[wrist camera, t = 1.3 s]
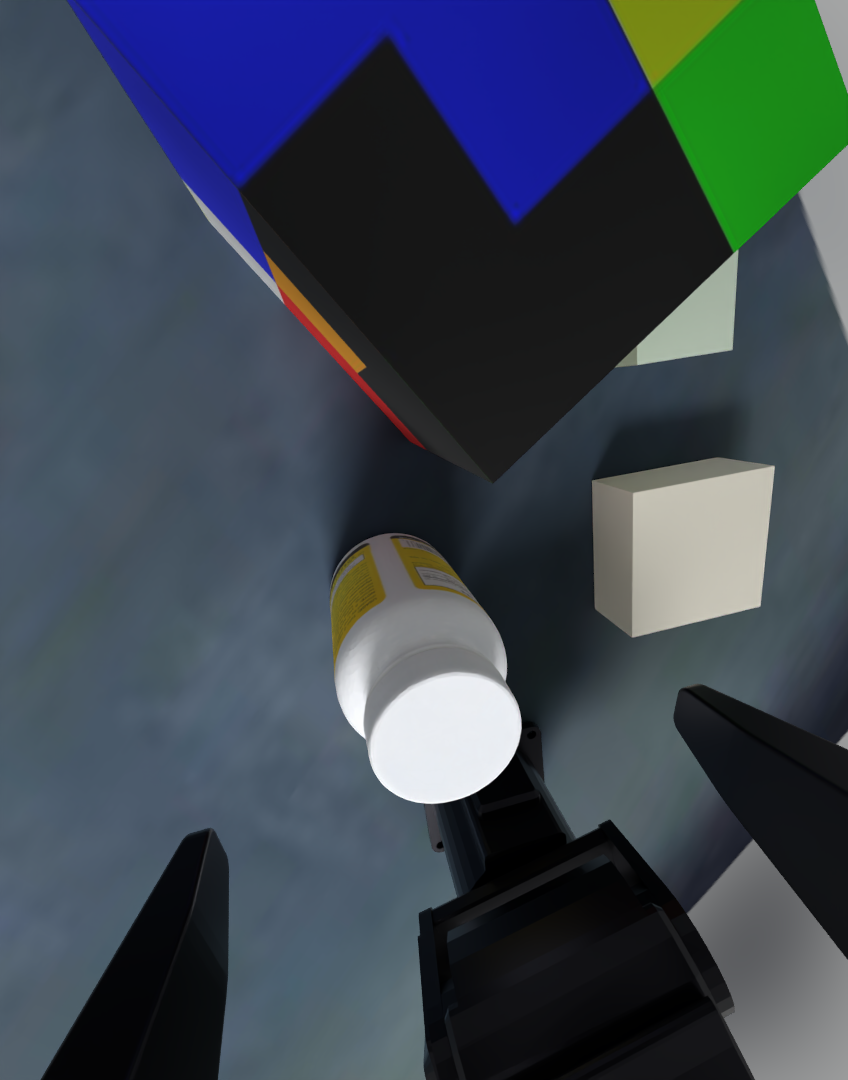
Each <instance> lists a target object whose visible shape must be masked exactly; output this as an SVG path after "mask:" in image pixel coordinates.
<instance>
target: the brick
mask: <svg viewBox="0 0 848 1080" xmlns="http://www.w3.org/2000/svg"><path fill="white" fill-rule="evenodd" d="M737 264H738V250H737V251H736V252H735V253H734V254H733V255H732V256H731V257H730V258H729V259H728V260H726V261H725V262H724V263H723V264H722V265H721V266H720V267H719V268H718V269H717V270H716V271H715V272H714V273H713V274H712V275H711V276H710V277H709V278H708V279H707V280H706V281H705V282H703V283H702V284H701V285H700V286H699V287H698V288H697V289H696V290H695V291H694V292H693V293H692V294H691V295H690V296H689V297H688V298H687V299H686V300H685V301H684V302H683V303H682V304H680V305H679V306H678V307H677V308H676V309H675V310H674V311H673V312H672V313H671V314H670V315H669V316H668V317H667V318H666V319H665V320H664V321H663V322H662V323H661V324H660V325H658V326H657V327H656V328H655V329H654V330H653V331H652V332H651V333H650V334H649V335H648V336H647V337H646V338H645V339H644V340H643V341H642V342H641V343H640V344H639V345H638V346H637V347H635V348H634V349H633V350H632V351H631V352H630V353H629V354H628V355H627V356H626V357H625V358H624V359H623V360H622V361H621V362H620V363H619V364H618V365H617V366H616V367H624V366H634V365H641V364H647V363H654V362H660V361H666V360H673V359H679V358H685V357H691V356H698V355H704V354H710V353H717V352H723V351H729V350H732V349H733V332H734V315H735V298H736V281H737Z"/></svg>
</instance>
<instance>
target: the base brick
mask: <svg viewBox="0 0 848 1080" xmlns="http://www.w3.org/2000/svg"><path fill="white" fill-rule="evenodd" d="M774 469H775V466H772V465H766V464H759V463H753V462H746V461H739V460H733V459H726V458H720V457H716V458H711V459H705V460H700V461H694V462H689V463H684V464H678V465H673V466H667V467H662V468H657V469H651V470H646V471H640V472H635V473H629V474H624V475H619V476H613V477H608V478H602V479H597V480H592V502H593V549H594V597H595V609H596V610H597V611H598V612H600V613H601V614H602V615H603V616H605V617H606V618H607V619H609V620H610V621H611V622H612V623H614V624H615V625H616V626H618V627H619V628H620V629H621V630H623V631H624V632H625V633H627V634H628V635H629V636H630V637H632V638H633V637H637V636H641V635H645V634H650V633H654V632H658V631H662V630H666V629H670V628H674V627H678V626H682V625H686V624H691V623H695V622H699V621H703V620H707V619H711V618H715V617H719V616H723V615H727V614H732V613H736V612H740V611H744V610H748V609H752V608H756V607H760V605H761V595H762V586H763V576H764V566H765V556H766V547H767V537H768V527H769V518H770V508H771V498H772V488H773V479H774Z"/></svg>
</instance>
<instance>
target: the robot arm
mask: <svg viewBox="0 0 848 1080" xmlns="http://www.w3.org/2000/svg"><path fill="white" fill-rule="evenodd" d="M674 723H675V726H676V728H677V730H678V731H679V733H680V734H681V736H682V738H683V739H684V741H685V742H686V744H687V745H688V747H689V748H690V750H691V751H692V753H693V754H694V756H695V758H696V759H697V761H698V762H699V764H700V765H701V767H702V768H703V770H704V771H705V773H706V774H707V776H708V777H709V779H710V781H711V782H712V784H713V785H714V787H715V788H716V790H717V791H718V793H719V794H720V796H721V797H722V798H723V800H724V801H725V803H726V804H727V805H728V807H729V808H730V809H731V811H732V812H733V813H734V815H735V816H736V817H737V818H738V820H739V821H740V822H741V824H742V825H743V826H744V827H745V829H746V830H747V831H748V833H749V834H750V835H751V836H752V838H753V839H754V840H755V842H756V843H757V844H758V845H759V847H760V848H761V849H762V850H763V852H764V853H765V854H766V856H767V857H768V858H769V859H770V861H771V862H772V863H773V864H774V866H775V867H776V868H777V870H778V871H779V872H780V874H781V875H782V876H783V877H784V879H785V880H786V881H787V882H788V884H789V885H790V886H791V888H792V889H793V890H794V891H795V893H796V894H797V895H798V897H799V898H800V899H801V900H802V902H803V903H804V904H805V906H806V907H807V908H808V909H809V911H810V912H811V913H812V914H813V916H814V917H815V918H816V920H817V921H818V922H819V923H820V925H821V926H822V927H823V929H824V930H825V931H826V932H827V934H828V935H829V936H830V938H831V939H832V940H833V941H834V943H835V944H836V945H837V947H838V948H839V949H840V950H841V951H842V953H843V954H844V955H845V957H846V958H847V959H848V750H847V749H845V748H843V747H841V746H839V745H836V744H834V743H832V742H830V741H827V740H825V739H823V738H821V737H819V736H816V735H814V734H812V733H810V732H807V731H805V730H803V729H801V728H798V727H796V726H794V725H792V724H790V723H787V722H785V721H783V720H781V719H778V718H776V717H774V716H772V715H770V714H767V713H765V712H763V711H761V710H758V709H756V708H754V707H752V706H750V705H747V704H745V703H743V702H741V701H738V700H736V699H734V698H732V697H730V696H727V695H725V694H723V693H721V692H718V691H716V690H714V689H712V688H710V687H707V686H705V685H702V684H694V685H691V686H687V687H684V688H682V689H680V690H679V693H678V697H677V701H676V706H675V711H674ZM521 725H522V729H521V734H520V740H519V743H518V746H517V749H516V751H515V754H514V756H513V757H512V759H511V761H510V762H509V764H508V765H507V766H506V768H505V769H504V770H503V771H502V772H501V773H500V774H499V775H498V777H497V778H495V779H494V780H493V781H492V782H490V783H489V784H488V785H486V786H485V787H483V788H482V789H480V790H479V791H477V792H475V793H473V794H471V795H469V796H467V797H464V798H461V799H458V800H454V801H450V802H445V803H433V804H426V803H424V807H425V813H426V819H427V825H428V830H429V836H430V842H431V846H432V849H433V850H434V851H435V852H444V851H445V854H446V857H447V861H448V865H449V868H450V872H451V876H452V880H453V883H454V887H455V891H456V894H457V898H455V899H453V900H451V901H449V902H447V903H445V904H443V905H441V906H439V907H436V908H434V909H432V908H428V909H426V910H424V911H422V912H420V913H419V925H420V936H418V946H419V959H420V973H421V986H422V999H423V1012H424V1025H425V1048H424V1072H425V1077H426V1080H755V1079H754V1077H753V1075H752V1073H751V1071H750V1069H749V1067H748V1065H747V1063H746V1061H745V1059H744V1057H743V1055H742V1053H741V1051H740V1049H739V1048H738V1046H737V1043H736V1042H735V1040H734V1038H733V1036H732V1034H731V1032H730V1030H729V1028H728V1026H727V1024H726V1022H725V1020H724V1018H725V1017H726V1016H728V1015H730V1014H732V1013H734V1012H735V1010H734V1003H733V1000H732V997H731V994H730V992H729V989H728V987H727V985H726V983H725V980H724V978H723V976H722V974H721V972H720V970H719V968H718V966H717V964H716V963H715V961H714V959H713V957H712V955H711V954H710V952H709V950H708V948H707V946H706V944H705V943H704V941H703V939H702V938H701V936H700V934H699V933H698V931H697V929H696V928H695V926H694V925H693V923H692V922H691V920H690V919H689V917H688V915H687V914H686V912H685V911H684V910H683V908H682V907H681V905H680V904H679V902H678V901H677V900H676V898H675V897H674V896H673V894H672V893H671V892H670V890H669V889H668V888H667V887H666V885H665V884H664V883H663V882H662V881H661V880H660V878H659V877H658V876H657V875H656V874H655V872H654V871H653V870H652V869H651V868H650V866H649V865H648V864H647V863H646V862H645V860H644V859H643V858H642V857H641V856H640V855H639V853H638V852H637V851H636V850H635V849H634V847H633V846H632V845H631V844H630V843H629V841H628V840H627V839H626V838H625V837H624V835H623V834H622V833H621V832H620V831H619V829H618V828H617V827H616V826H615V825H614V824H613V822H612V821H611V820H608V821H605V822H603V823H601V824H599V825H598V826H599V828H597V829H595V830H593V831H591V832H589V833H587V834H585V835H583V836H581V837H579V838H577V839H576V838H575V836H574V834H573V832H572V831H571V829H570V827H569V825H568V824H567V822H566V820H565V818H564V817H563V815H562V813H561V811H560V810H559V808H558V806H557V805H556V803H555V801H554V799H553V798H552V796H551V794H550V792H549V791H548V789H547V787H546V785H545V784H544V771H543V757H542V742H541V731H540V729H539V727H538V726H537V724H535V723H534V722H526V723H522V724H521ZM530 731H532V732H531V733H530V734H528V733H529V732H530ZM440 841H441V842H440ZM228 929H229V864H228V858H227V855H226V853H225V851H224V849H223V846H222V844H221V842H220V840H219V838H218V836H217V834H216V832H215V831H214V830H213V829H212V828H207V829H204V830H200V831H197V832H193V833H190V834H188V835H187V836H186V837H185V838H184V839H183V840H182V842H181V843H180V845H179V847H178V848H177V850H176V852H175V854H174V855H173V857H172V859H171V860H170V862H169V864H168V865H167V867H166V869H165V870H164V872H163V874H162V875H161V877H160V879H159V881H158V882H157V884H156V886H155V887H154V889H153V891H152V892H151V894H150V896H149V897H148V899H147V901H146V902H145V904H144V906H143V908H142V909H141V911H140V913H139V914H138V916H137V918H136V919H135V921H134V923H133V924H132V926H131V928H130V930H129V931H128V933H127V935H126V936H125V938H124V940H123V941H122V943H121V945H120V946H119V948H118V950H117V951H116V953H115V955H114V957H113V958H112V960H111V962H110V963H109V965H108V967H107V968H106V970H105V972H104V973H103V975H102V977H101V978H100V980H99V982H98V984H97V985H96V987H95V989H94V990H93V992H92V994H91V995H90V997H89V999H88V1000H87V1002H86V1004H85V1006H84V1007H83V1009H82V1011H81V1012H80V1014H79V1016H78V1017H77V1019H76V1021H75V1022H74V1024H73V1026H72V1027H71V1029H70V1031H69V1033H68V1034H67V1036H66V1038H65V1039H64V1041H63V1043H62V1044H61V1046H60V1048H59V1049H58V1051H57V1053H56V1054H55V1056H54V1058H53V1060H52V1061H51V1063H50V1065H49V1066H48V1068H47V1070H46V1071H45V1073H44V1075H43V1076H42V1078H41V1080H218V1073H219V1063H220V1053H221V1044H222V1034H223V1024H224V1015H225V1005H226V995H227V982H228Z"/></svg>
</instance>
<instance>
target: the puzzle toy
mask: <svg viewBox="0 0 848 1080" xmlns="http://www.w3.org/2000/svg"><path fill="white" fill-rule="evenodd" d="M67 2H68V4H69V5H70V7H71V8H72V10H73V11H74V13H75V14H76V16H77V18H78V19H79V21H80V22H81V24H82V25H83V27H84V28H85V30H86V31H87V33H88V35H89V36H90V38H91V39H92V41H93V42H94V44H95V45H96V47H97V49H98V50H99V52H100V53H101V55H102V56H103V58H104V59H105V61H106V62H107V64H108V66H109V67H110V69H111V70H112V72H113V73H114V75H115V76H116V78H117V80H118V81H119V83H120V84H121V86H122V87H123V89H124V90H125V92H126V93H127V95H128V97H129V98H130V100H131V101H132V103H133V104H134V106H135V107H136V109H137V111H138V112H139V114H140V115H141V117H142V118H143V120H144V121H145V123H146V125H147V126H148V128H149V129H150V131H151V132H152V134H153V135H154V137H155V138H156V140H157V142H158V143H159V145H160V146H161V148H162V149H163V151H164V152H165V154H166V156H167V157H168V159H169V160H170V162H171V163H172V165H173V166H174V168H175V169H176V171H177V173H178V174H179V176H180V177H181V179H182V180H183V182H184V183H185V185H186V187H187V188H188V190H189V191H190V193H191V194H192V196H193V197H194V199H195V200H196V202H197V204H198V205H199V207H200V208H201V210H202V211H203V213H204V214H205V216H206V218H207V219H208V221H209V222H210V223H211V224H212V225H213V226H214V227H215V228H216V230H217V231H218V232H219V233H220V234H221V235H222V236H223V237H224V238H225V239H226V240H227V242H228V243H229V244H230V245H231V246H232V247H233V248H234V249H235V250H236V251H237V253H238V254H239V255H240V256H241V257H242V258H243V259H244V260H245V261H246V262H247V264H248V265H249V266H250V267H251V268H252V269H253V270H254V271H255V272H256V273H257V274H258V276H259V277H260V278H261V279H262V280H263V281H264V282H265V283H266V284H267V285H268V287H269V288H270V289H271V290H272V291H273V292H274V293H275V294H276V295H277V296H278V297H279V299H280V300H281V301H282V302H283V303H284V304H285V305H286V306H287V307H288V308H289V310H290V311H291V312H292V313H293V314H294V315H295V316H296V317H297V318H298V319H299V320H300V322H301V323H302V324H303V325H304V326H305V327H306V328H307V329H308V330H309V331H310V333H311V334H312V335H313V336H314V337H315V338H316V339H317V340H318V341H319V342H320V344H321V345H322V346H323V347H324V348H325V349H326V350H327V351H328V352H329V353H330V354H331V356H332V357H333V358H334V359H335V360H336V361H337V362H338V363H339V364H340V365H341V367H342V368H343V369H344V370H345V371H346V372H347V373H348V374H349V375H350V376H351V377H352V379H353V380H354V381H355V382H356V383H357V384H358V385H359V386H360V387H361V388H362V390H363V391H364V392H365V393H366V394H367V395H368V396H369V397H370V398H371V399H372V401H373V402H374V403H375V404H376V405H377V406H378V407H379V408H380V409H381V410H382V411H383V413H384V414H385V415H386V416H387V417H388V418H389V419H390V420H391V421H392V422H393V424H394V425H395V426H396V427H397V428H398V429H399V430H400V431H401V432H402V433H403V434H404V436H405V437H406V438H407V439H408V440H409V441H410V442H412V443H414V444H416V445H418V446H420V447H422V448H424V449H425V450H427V451H429V452H431V453H433V454H435V455H437V456H439V457H441V458H443V459H445V460H447V461H449V462H451V463H453V464H455V465H457V466H459V467H461V468H463V469H465V470H467V471H469V472H471V473H473V474H475V475H477V476H479V477H481V478H483V479H485V480H487V481H489V482H491V483H494V482H495V481H496V480H497V479H498V478H499V477H501V476H502V475H503V474H504V473H505V472H506V471H507V470H508V469H509V468H510V467H511V466H512V465H513V464H514V463H515V462H516V461H517V460H518V459H519V458H520V457H521V456H522V455H524V454H525V453H526V452H527V451H528V450H529V449H530V448H531V447H532V446H533V445H534V444H535V443H536V442H537V441H538V440H539V439H540V438H541V437H542V436H543V435H544V434H546V433H547V432H548V431H549V430H550V429H551V428H552V427H553V426H554V425H555V424H556V423H557V422H558V421H559V420H560V419H561V418H562V417H563V416H564V415H565V414H566V413H567V412H569V411H570V410H571V409H572V408H573V407H574V406H575V405H576V404H577V403H578V402H579V401H580V400H581V399H582V398H583V397H584V396H585V395H586V394H587V393H588V392H589V391H590V390H592V389H593V388H594V387H595V386H596V385H597V384H598V383H599V382H600V381H601V380H602V379H603V378H604V377H605V376H606V375H607V374H608V373H609V372H610V371H611V370H612V369H614V368H615V367H616V366H617V365H618V364H619V363H620V362H621V361H622V360H623V359H624V358H625V357H626V356H627V355H628V354H629V353H630V352H631V351H632V350H633V349H634V348H635V347H637V346H638V345H639V344H640V343H641V342H642V341H643V340H644V339H645V338H646V337H647V336H648V335H649V334H650V333H651V332H652V331H653V330H654V329H655V328H656V327H657V326H658V325H660V324H661V323H662V322H663V321H664V320H665V319H666V318H667V317H668V316H669V315H670V314H671V313H672V312H673V311H674V310H675V309H676V308H677V307H678V306H679V305H680V304H682V303H683V302H684V301H685V300H686V299H687V298H688V297H689V296H690V295H691V294H692V293H693V292H694V291H695V290H696V289H697V288H698V287H699V286H700V285H701V284H702V283H703V282H705V281H706V280H707V279H708V278H709V277H710V276H711V275H712V274H713V273H714V272H715V271H716V270H717V269H718V268H719V267H720V266H721V265H722V264H723V263H724V262H725V261H726V260H728V259H729V258H730V257H731V256H732V255H733V254H734V253H735V252H736V251H737V250H738V249H739V248H740V247H741V246H742V245H743V244H744V243H745V242H746V241H747V240H748V239H750V238H751V237H752V236H753V235H754V234H755V233H756V232H757V231H758V230H759V229H760V228H761V227H762V226H763V225H764V224H765V223H766V222H767V221H768V220H769V219H770V218H771V217H773V216H774V215H775V214H776V213H777V212H778V211H779V210H780V209H781V208H782V207H783V206H784V205H785V204H786V203H787V202H788V201H789V200H790V199H791V198H792V197H793V196H794V195H796V194H797V193H798V192H799V191H800V190H801V189H802V188H803V187H804V186H805V185H806V184H807V183H808V182H809V181H810V180H811V179H812V178H813V177H814V176H815V175H816V174H818V173H819V171H820V170H822V169H823V168H824V167H825V166H826V165H827V164H828V163H829V162H830V161H831V160H832V159H833V158H834V157H835V156H836V155H837V154H838V153H839V152H841V151H842V150H843V149H844V147H846V146H847V145H848V93H847V90H846V88H845V85H844V82H843V79H842V76H841V73H840V71H839V68H838V65H837V62H836V59H835V57H834V54H833V51H832V48H831V45H830V42H829V40H828V37H827V34H826V31H825V28H824V25H823V22H822V20H821V17H820V14H819V11H818V9H817V6H816V3H815V0H67Z"/></svg>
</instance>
